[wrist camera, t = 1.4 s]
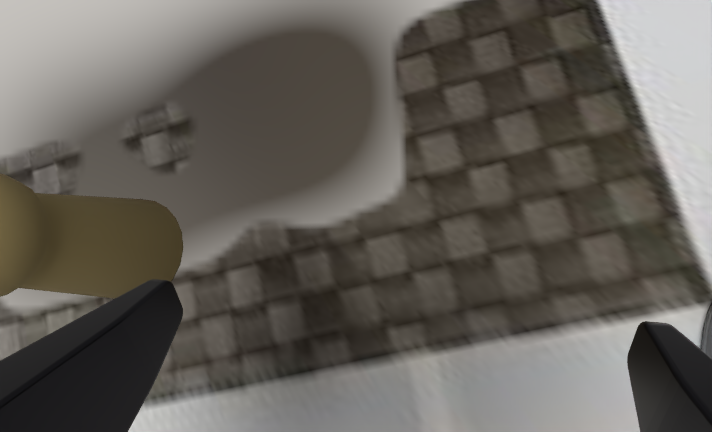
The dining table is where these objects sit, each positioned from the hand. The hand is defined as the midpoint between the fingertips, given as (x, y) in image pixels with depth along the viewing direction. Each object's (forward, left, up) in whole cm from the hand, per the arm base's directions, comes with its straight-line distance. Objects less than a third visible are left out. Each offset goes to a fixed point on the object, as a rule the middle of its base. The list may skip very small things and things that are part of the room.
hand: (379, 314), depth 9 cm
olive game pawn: (-8, +15, -14) cm, 22 cm away
